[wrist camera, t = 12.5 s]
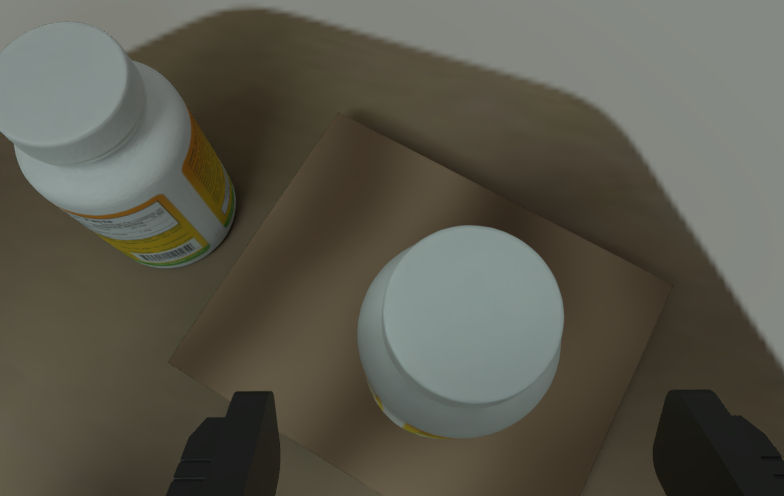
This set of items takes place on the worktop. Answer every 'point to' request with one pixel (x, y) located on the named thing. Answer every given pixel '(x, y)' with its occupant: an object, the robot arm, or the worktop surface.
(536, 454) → the walnut board
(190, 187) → the supplement bottle
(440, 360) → the supplement bottle
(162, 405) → the worktop surface
